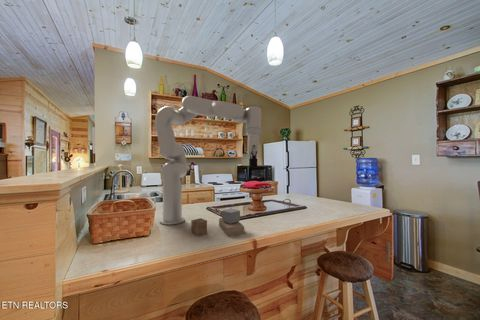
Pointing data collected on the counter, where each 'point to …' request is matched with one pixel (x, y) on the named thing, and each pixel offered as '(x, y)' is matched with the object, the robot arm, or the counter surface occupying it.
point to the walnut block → (198, 227)
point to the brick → (231, 228)
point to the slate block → (231, 215)
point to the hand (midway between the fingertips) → (253, 166)
